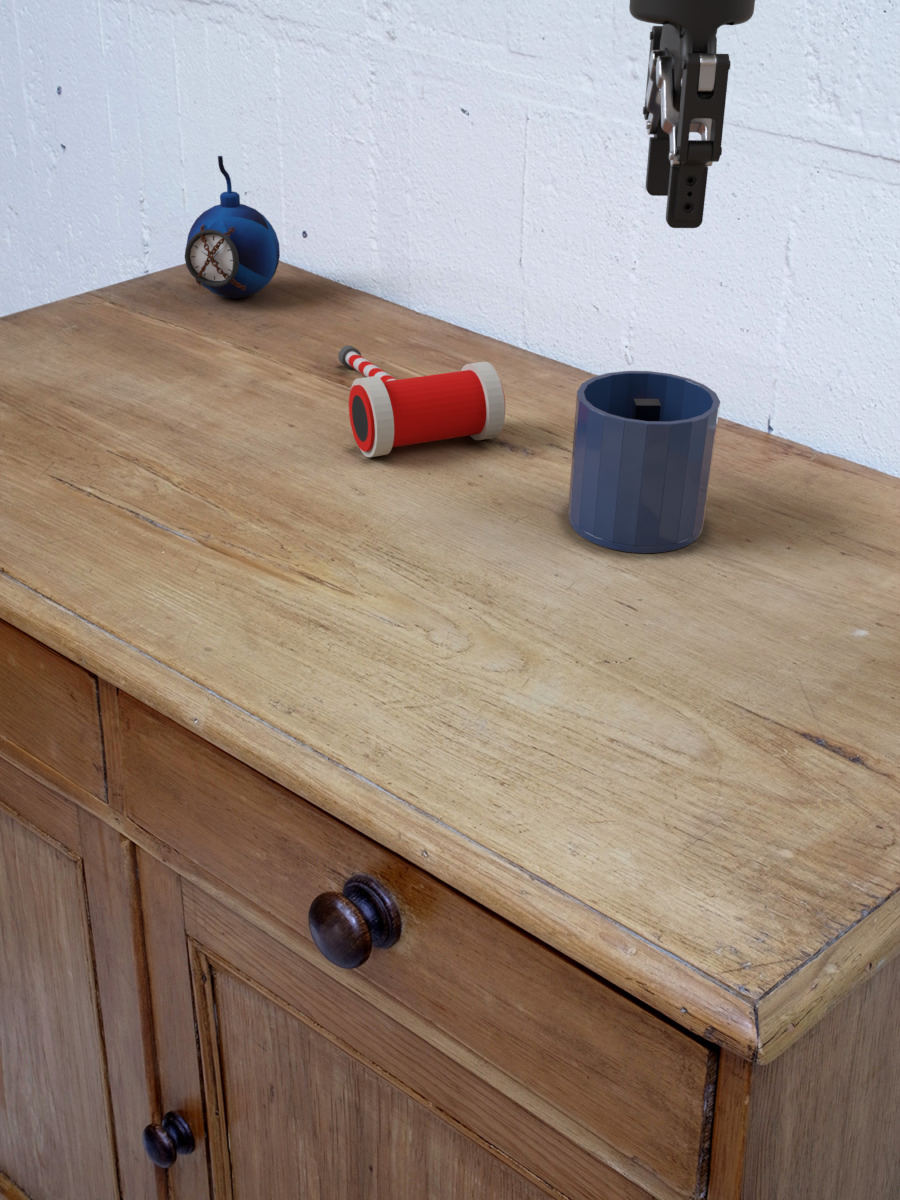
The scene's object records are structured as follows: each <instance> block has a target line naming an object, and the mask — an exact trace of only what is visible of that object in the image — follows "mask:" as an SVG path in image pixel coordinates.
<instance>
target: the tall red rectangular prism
mask: <svg viewBox="0 0 900 1200" xmlns="http://www.w3.org/2000/svg"><path fill="white" fill-rule="evenodd" d="M660 411H661V404H660V402H659V400H658V399H634V401H633V411H632V419H634V420H642V421H659V420H660Z"/></svg>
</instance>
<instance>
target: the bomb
mask: <svg viewBox="0 0 900 1200" xmlns="http://www.w3.org/2000/svg"><path fill="white" fill-rule="evenodd" d="M217 163H218V169H219V171H220V173H221V174H222V176H223V177H224V179H225V183H226V191H223V192H221V193H220V195H219V202H220V204H215V205H213V206H211V207H210V208H208V209H206V210H204V211H203V212H202V213H201V214H200V215H199V216H198V217H197V218H196V219H195V220H194V222H193V224H192V225H191V227H190V230H189V232H188V235H187V238H186V239H187V240H186V244H185V245H186V246H185V251H184V262H185V266H186V268H187V270H188V272H189V273H190V275H191V276H192V277H193V278H194V279H195V281H196V283H197V284H198V285H199V286H202V287H204V288H205V289H207V290H208V291H209V292H211V293H212V294H215V295H217V296H220V297H223V298H228V299H243V298H247V297H251V296H253V295H255V294H256V293H258V292H261V291H262V290H263V289H264V288H265V287H267V285H268V284H269V283H271V281H272V279H273V278H274V276H275V275H276V272H277V269H278V266H279V263H280V258H281V257H280V256H281V253H280V250H281V249H280V242H279V238H278V234H277V232H276V231H275V229H274V226H273V225H272V224H271V222H270V221H269V220H268V219H267V217H266V216H265V215H264V214H262V213H261V212H259V211H258V210H257V209H256V208H255V207H254V208H253V207H251V206H249V205H247V204H243V203H241V197H240V196H241V195H240V193H238V192H237V191H233V190H232V187H233V186H232V179H231V176H230V174H229V173H228V171H227V169H226V167H225V165H224V158H223V155H218V156H217Z"/></svg>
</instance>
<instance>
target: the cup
mask: <svg viewBox="0 0 900 1200" xmlns="http://www.w3.org/2000/svg"><path fill="white" fill-rule="evenodd" d="M634 399H658V400H659V402H660V404H661V411H660V420H659V421H642V420H634V419H632V411H633V401H634ZM720 407H721V400H720V398H719V396H718V394H717V393H716V392H715V391H714V390H713V389H712V388H710V387H708V386H707V385H705V384H703V383H701V382H699V381H696V380H694V379H692V378H689V377H686V376H685V377H684V376H680V375H677V374H672V373H669V372H668V373H667V372H659V371H653V370H652V371H651V370H624V371H622V370H621V371H615V372H613V371H612V372H607V373H603V374H599V375H595V376H593V377H591V378H588V379H587V380H585V381H584V382H582V383H581V384H580V386H579V388H578V389H577V390H576V401H575V414H574V427H573V439H572V440H573V441H572V451H571V452H572V453H571V464H570V465H571V466H570V477H569V478H570V479H569V493H568V506H567V510H568V513H567V514H568V515H567V516H568V518H567V519H568V522H569V525H570V527H571V528H572V529H573V530H574V532H575V533H576V534H577V535H579V536H580V537H582V538H583V539H584V540H587V541H588V542H591V543H593V544H595V545H597V546H600V547H603V548H607V549H610V550H615V551H618V552H624V553H634V554H657V553H658V554H659V553H666V552H673V551H675V550H679V549H682V548H685V547H687V546H689V545H691V544H693V543H694V542H696V541H697V540H698V539H699V537H700V536H701V534H702V532H703V530H704V522H705V520H706V511H707V504H708V496H709V489H710V481H711V475H712V466H713V459H714V452H715V444H716V438H717V431H718V430H717V429H718V423H719V422H718V421H719V415H720Z"/></svg>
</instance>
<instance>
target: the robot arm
mask: <svg viewBox="0 0 900 1200" xmlns="http://www.w3.org/2000/svg"><path fill="white" fill-rule="evenodd" d="M755 4H756V0H629V5H628V8H629V13H630V15H631V16H632V17H633V18H634V19H635V20H638V21H640V22H643V23H644V22H645V23H649V24H654V25H652V27H651V31H649V41H650V43H649V54H648V65H647V75H646V86H645V96H644V98H645V99H644V106H643V107H642V115H643V117H644V120H645V129H646V131H647V135H648V136H649V138H648V139H649V140H648V141H649V142H648V154H647V163H646V164H647V165H646V174H645V175H646V176H645V190H646V192H647V193H648V194H649V196H654V197H656V196H657V197H663V196H664V197H666V210H665V211H666V212H665V222H666V224H667V225H668V226H669V227H670V228H673V229H697V228H699V227H700V226H701V225H702V223H703V219H704V211H705V200H706V192H707V191H706V190H707V183H708V182H707V181H708V174H709V167H712V166H713V163H718V162H719V161H720V158H721V156H722V153H723V148H722V143H723V132H724V131H723V130H724V121H725V111H726V100H727V91H728V81H729V71H730V69H731V65H732V64H731V60H730V55H729V53H717V47H718V46H717V45H718V38H717V35H718V29H719V28H720V27H722V26H738V25H741V24H744V23H746V22H748V21H750V20H751V19H752V17H753V15H754V13H755ZM690 133H698V134H699V135H700V138H701V139H690Z"/></svg>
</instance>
